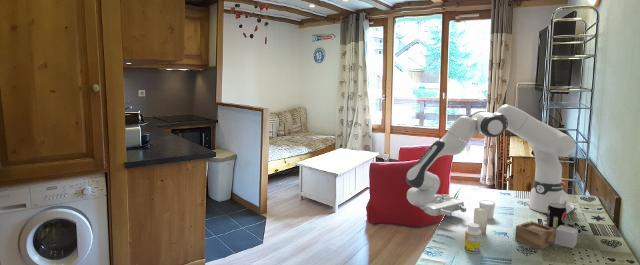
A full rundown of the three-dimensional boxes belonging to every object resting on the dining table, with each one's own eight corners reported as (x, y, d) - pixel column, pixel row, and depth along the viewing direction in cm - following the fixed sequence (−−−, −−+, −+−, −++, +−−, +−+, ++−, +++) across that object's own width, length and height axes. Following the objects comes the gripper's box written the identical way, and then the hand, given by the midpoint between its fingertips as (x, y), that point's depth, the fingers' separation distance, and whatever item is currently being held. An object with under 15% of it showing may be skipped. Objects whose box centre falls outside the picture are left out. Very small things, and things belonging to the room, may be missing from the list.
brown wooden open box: (530, 234, 160) (531, 220, 159) (554, 243, 151) (556, 229, 150) (515, 240, 155) (516, 225, 154) (539, 249, 146) (541, 234, 145)
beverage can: (558, 237, 157) (560, 208, 156) (542, 231, 163) (544, 204, 162) (567, 234, 160) (570, 206, 159) (552, 228, 166) (554, 201, 165)
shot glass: (495, 219, 177) (496, 205, 176) (480, 218, 178) (480, 204, 177) (492, 214, 184) (493, 200, 183) (477, 213, 185) (477, 199, 184)
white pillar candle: (478, 229, 166) (479, 207, 164) (488, 233, 161) (490, 210, 160) (470, 232, 163) (471, 209, 162) (480, 236, 159) (482, 212, 157)
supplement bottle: (467, 246, 149) (468, 221, 148) (482, 250, 145) (483, 224, 144) (462, 251, 145) (463, 225, 143) (477, 255, 141) (478, 228, 140)
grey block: (559, 239, 156) (560, 225, 155) (576, 243, 151) (578, 229, 151) (554, 243, 152) (556, 229, 151) (572, 248, 147) (574, 233, 146)
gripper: (418, 200, 178) (441, 209, 166) (449, 193, 188) (473, 201, 176) (417, 213, 178) (441, 223, 167) (449, 206, 189) (472, 214, 177)
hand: (458, 212), depth 171 cm, fingers open, 8 cm apart
